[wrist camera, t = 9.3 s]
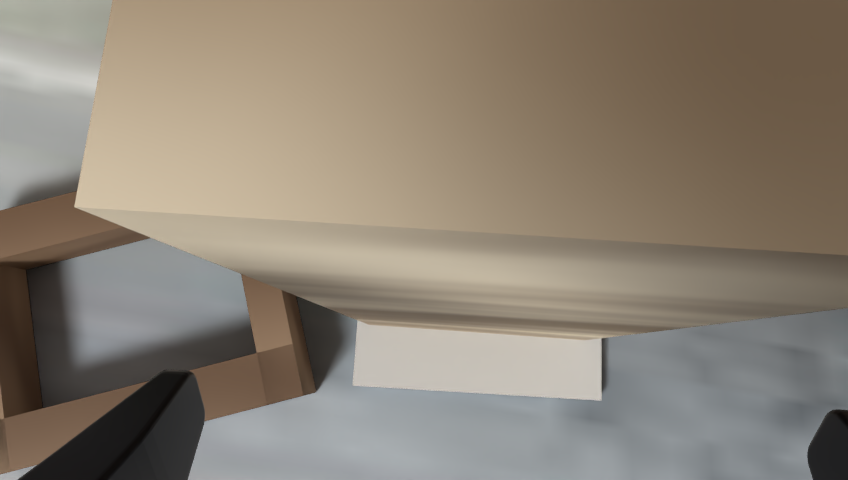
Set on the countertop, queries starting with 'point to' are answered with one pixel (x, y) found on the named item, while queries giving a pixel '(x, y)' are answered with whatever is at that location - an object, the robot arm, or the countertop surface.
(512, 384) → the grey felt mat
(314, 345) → the countertop surface
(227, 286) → the countertop surface
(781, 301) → the tan wooden block
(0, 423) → the walnut rack
